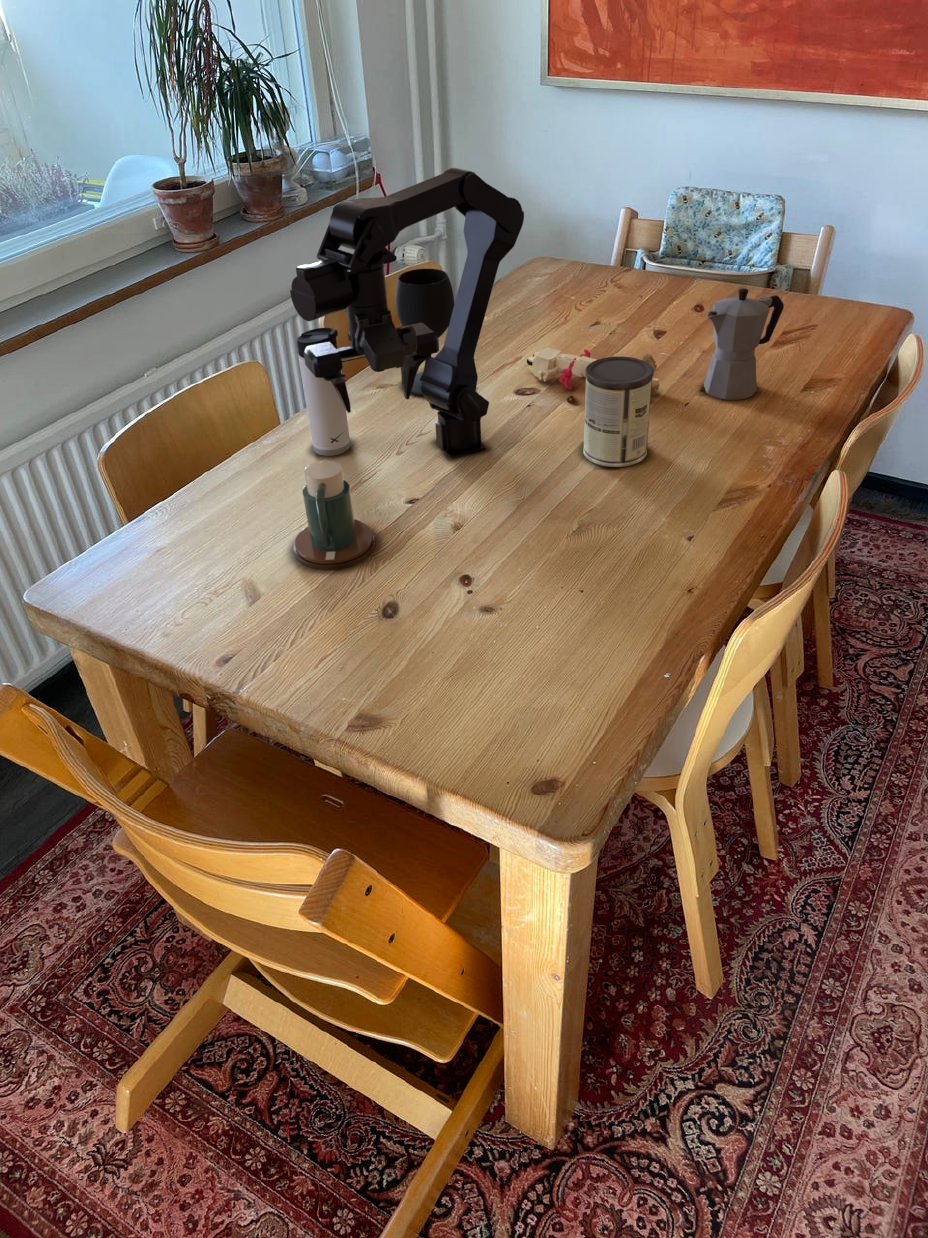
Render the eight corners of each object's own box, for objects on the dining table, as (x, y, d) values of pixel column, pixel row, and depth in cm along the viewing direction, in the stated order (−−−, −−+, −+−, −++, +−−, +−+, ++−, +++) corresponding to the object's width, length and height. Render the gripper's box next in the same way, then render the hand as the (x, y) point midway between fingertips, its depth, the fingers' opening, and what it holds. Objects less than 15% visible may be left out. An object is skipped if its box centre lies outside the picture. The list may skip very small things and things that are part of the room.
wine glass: (466, 375, 178) (461, 268, 165) (447, 399, 170) (440, 288, 158) (415, 370, 180) (406, 264, 168) (394, 393, 173) (383, 284, 160)
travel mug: (345, 457, 154) (329, 339, 142) (307, 455, 155) (288, 337, 143) (357, 440, 159) (342, 324, 147) (320, 437, 160) (303, 322, 148)
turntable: (360, 517, 139) (359, 513, 139) (387, 556, 131) (387, 551, 130) (284, 537, 136) (283, 533, 135) (307, 579, 127) (306, 574, 127)
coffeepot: (713, 407, 162) (727, 304, 151) (683, 387, 169) (693, 287, 158) (787, 389, 167) (805, 287, 156) (754, 370, 174) (769, 271, 162)
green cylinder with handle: (300, 522, 137) (287, 451, 130) (375, 519, 137) (366, 448, 130) (289, 568, 128) (275, 494, 121) (370, 564, 128) (360, 490, 121)
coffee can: (594, 433, 157) (597, 352, 148) (654, 443, 153) (661, 360, 145) (573, 461, 150) (575, 377, 141) (636, 472, 146) (642, 387, 137)
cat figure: (661, 393, 170) (539, 359, 180) (669, 347, 165) (542, 315, 174) (640, 415, 164) (514, 379, 173) (647, 368, 158) (517, 333, 168)
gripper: (318, 332, 121) (334, 441, 131) (451, 305, 127) (457, 412, 136) (295, 305, 129) (311, 410, 139) (420, 281, 135) (428, 384, 144)
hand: (377, 404), depth 139 cm, fingers open, 9 cm apart
